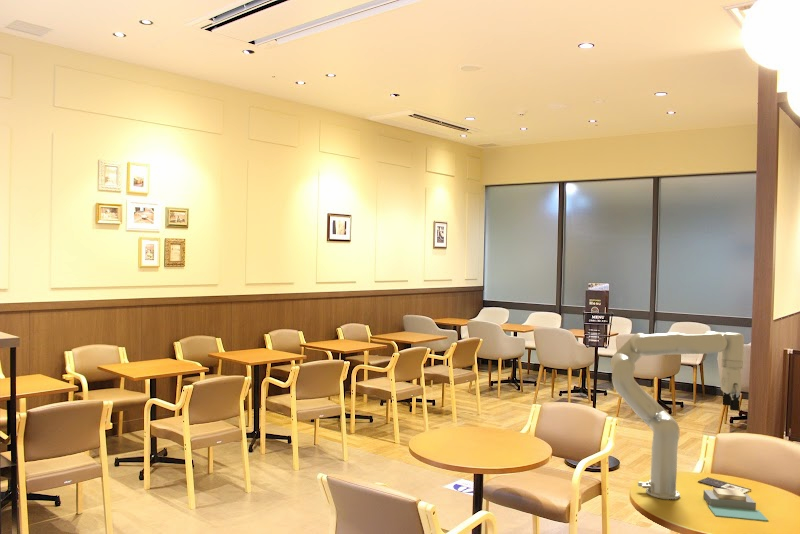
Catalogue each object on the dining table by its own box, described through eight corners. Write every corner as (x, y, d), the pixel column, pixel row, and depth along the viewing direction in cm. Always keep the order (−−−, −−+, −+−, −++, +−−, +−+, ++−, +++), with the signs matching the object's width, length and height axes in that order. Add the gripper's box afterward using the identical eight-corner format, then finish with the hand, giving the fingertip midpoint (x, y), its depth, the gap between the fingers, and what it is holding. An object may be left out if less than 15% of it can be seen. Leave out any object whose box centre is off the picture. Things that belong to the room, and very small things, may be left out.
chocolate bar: (708, 477, 287) (751, 489, 273) (708, 479, 287) (751, 491, 273) (697, 481, 281) (741, 493, 268) (697, 483, 281) (741, 496, 268)
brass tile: (718, 498, 254) (718, 493, 254) (712, 491, 261) (712, 487, 261) (746, 500, 252) (746, 496, 252) (740, 494, 259) (740, 490, 259)
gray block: (710, 506, 253) (710, 498, 253) (703, 497, 263) (703, 489, 263) (755, 510, 250) (755, 502, 250) (746, 501, 260) (747, 493, 260)
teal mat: (715, 516, 243) (715, 515, 243) (707, 506, 253) (707, 505, 253) (768, 521, 240) (768, 520, 240) (758, 511, 250) (758, 510, 250)
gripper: (715, 360, 269) (714, 402, 269) (728, 367, 252) (727, 411, 252) (735, 361, 268) (734, 403, 268) (749, 368, 251) (748, 413, 251)
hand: (730, 407), depth 260 cm, fingers open, 9 cm apart
